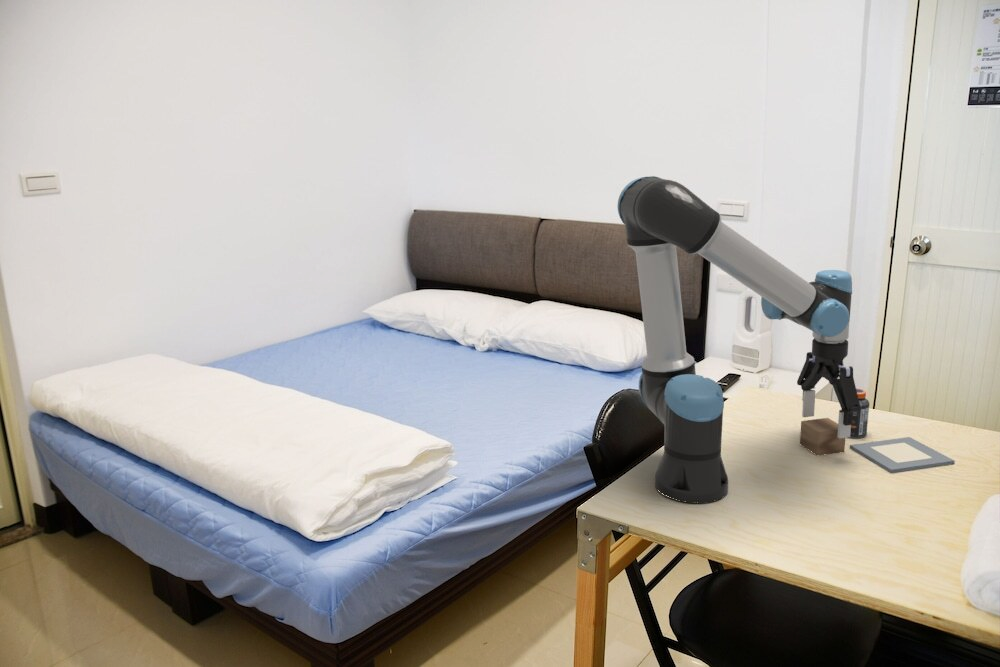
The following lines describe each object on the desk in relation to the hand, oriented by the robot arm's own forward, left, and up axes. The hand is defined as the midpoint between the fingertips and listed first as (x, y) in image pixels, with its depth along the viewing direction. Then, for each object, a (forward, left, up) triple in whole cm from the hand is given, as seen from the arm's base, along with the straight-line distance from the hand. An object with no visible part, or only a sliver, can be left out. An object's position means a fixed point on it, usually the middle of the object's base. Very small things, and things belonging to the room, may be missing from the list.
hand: (825, 426), depth 181 cm
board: (+14, -9, -5) cm, 17 cm away
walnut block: (0, 0, -6) cm, 6 cm away
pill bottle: (+12, +5, -6) cm, 14 cm away
